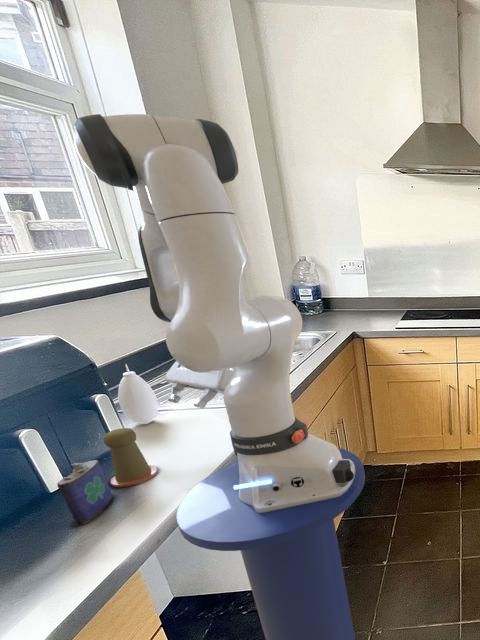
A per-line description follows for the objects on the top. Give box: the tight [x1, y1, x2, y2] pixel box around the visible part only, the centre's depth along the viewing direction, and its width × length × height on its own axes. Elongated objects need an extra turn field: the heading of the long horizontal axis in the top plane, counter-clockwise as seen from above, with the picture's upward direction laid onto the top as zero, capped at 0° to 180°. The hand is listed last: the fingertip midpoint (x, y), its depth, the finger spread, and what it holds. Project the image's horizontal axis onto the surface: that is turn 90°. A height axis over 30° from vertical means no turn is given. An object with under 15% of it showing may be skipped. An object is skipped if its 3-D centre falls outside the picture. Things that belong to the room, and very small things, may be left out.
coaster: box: [109, 464, 159, 488], centre depth 93 cm, size 8×8×1 cm
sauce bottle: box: [117, 363, 159, 425], centre depth 116 cm, size 8×8×18 cm
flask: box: [56, 459, 114, 526], centre depth 81 cm, size 9×3×11 cm, turn 15°
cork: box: [103, 427, 151, 482], centre depth 91 cm, size 6×6×11 cm
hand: (185, 404), depth 101 cm, fingers open, 8 cm apart
